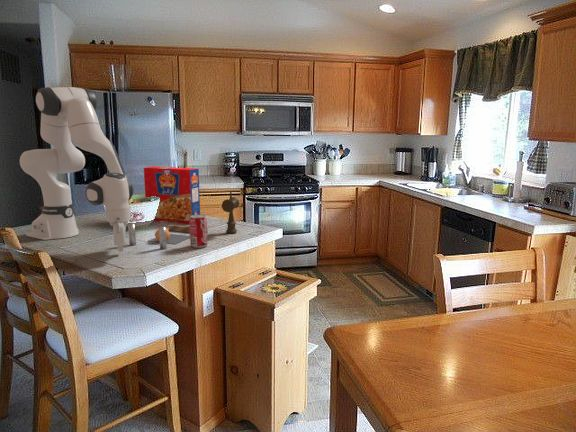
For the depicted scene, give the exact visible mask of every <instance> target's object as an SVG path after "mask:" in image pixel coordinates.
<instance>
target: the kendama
mask: <svg viewBox="0 0 576 432" xmlns="http://www.w3.org/2000/svg"><path fill="white" fill-rule="evenodd" d="M232 194H233V193H232V190H230V191H229V199H224V200H223V201H222V202H221V208H222V211H224V212H226V213H228V219H227V222H226V225H227V227H226V231H225V232H226V233H228V234H235V233H237V232H238V230H237V229H236V224H237V222H236V220H235V217H234V209H237V208H238V207H239V206H240V200H239V198H237V197H235V196H233V195H232ZM232 196H233V197H232Z"/></svg>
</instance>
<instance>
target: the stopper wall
mask: <svg viewBox="0 0 576 432" xmlns="http://www.w3.org/2000/svg"><path fill="white" fill-rule="evenodd" d="M168 231H169V232H179V233H180V232H181V233H189V234H190V225H180V224H169V225H168ZM207 234H208V230H207Z"/></svg>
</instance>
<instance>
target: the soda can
mask: <svg viewBox="0 0 576 432" xmlns="http://www.w3.org/2000/svg"><path fill="white" fill-rule="evenodd" d="M188 226H190V233H189V236H190V238H189V242H190V244H189V245H190V246H191V247H192V248H194V249H204V248H205V247H207V246H208V244H209V241H208V240H209V237H208V233H207V231H208V220H207V218H206V215H205V214H200V215H192V216H190V220H189V224H188Z"/></svg>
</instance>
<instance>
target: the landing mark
mask: <svg viewBox="0 0 576 432" xmlns="http://www.w3.org/2000/svg"><path fill="white" fill-rule="evenodd" d="M186 240H190V235H187V234H186V235H183V234H176V233H175V234H174V233H170V236H169V239H168V240H167V241H166V245H169V244H170V245H177V244H179V243H182V242H184V241H186ZM149 242H151V243H159V244H160V241H158V240H157V239H156V237H154V238H151V239H148V243H149Z"/></svg>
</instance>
